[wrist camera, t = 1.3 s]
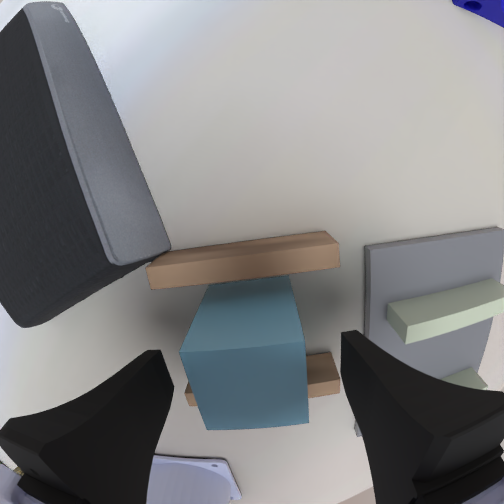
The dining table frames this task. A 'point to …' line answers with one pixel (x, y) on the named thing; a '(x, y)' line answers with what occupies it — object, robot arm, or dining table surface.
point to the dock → (436, 301)
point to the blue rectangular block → (248, 356)
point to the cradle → (255, 266)
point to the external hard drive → (64, 173)
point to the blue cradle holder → (484, 9)
